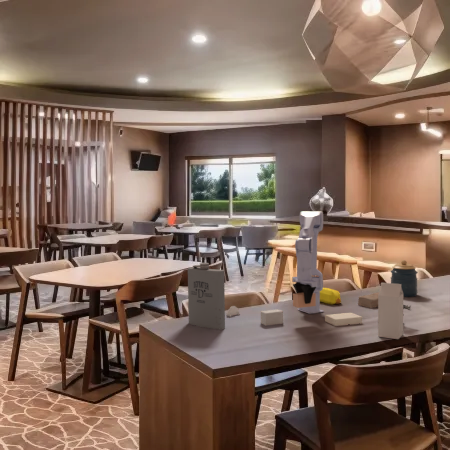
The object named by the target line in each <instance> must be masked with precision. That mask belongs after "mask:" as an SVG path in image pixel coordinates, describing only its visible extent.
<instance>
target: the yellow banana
mask: <svg viewBox="0 0 450 450" xmlns="http://www.w3.org/2000/svg"><path fill="white" fill-rule="evenodd" d="M341 298H342V297H341V293H340V292H339V290H336V289H333V288H328V287H323V289H322V291H320V303H325V304H328V305H332V306H333V305H339V304H341V303H342V299H341Z"/></svg>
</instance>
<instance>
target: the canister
mask: <svg viewBox="0 0 450 450" xmlns="http://www.w3.org/2000/svg"><path fill="white" fill-rule="evenodd" d="M416 268H417V267H416V266H414V264H410V263H407V260H401V263H396V264H394V265H393V266H392V270H390V273H391V277H390V283H392V284H401V288H402V291H403V296H405V297H404V298H411V297H416V296H418V277H417V274H418V271H417V270H416Z"/></svg>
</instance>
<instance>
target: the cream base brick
mask: <svg viewBox="0 0 450 450" xmlns="http://www.w3.org/2000/svg"><path fill="white" fill-rule="evenodd" d="M324 320H325V323H328V324H330V325H332V326H333V327H337V326H338V327H340V326H347V325H348V324H350V325H357V324H359V323H360V324H363V316H361V315H358V314H356V313H354V312H344V313H341V312H340V313H334V314H333V313H331V314H324Z"/></svg>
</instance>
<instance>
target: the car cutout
mask: <svg viewBox="0 0 450 450" xmlns="http://www.w3.org/2000/svg"><path fill="white" fill-rule="evenodd" d="M237 315H238V316H240V312H239V308H238V307H237V306H236V305H232V306H230V307H229V309H227V311H226V316H227V317H230V318H231V317H232V316H237Z"/></svg>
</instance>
